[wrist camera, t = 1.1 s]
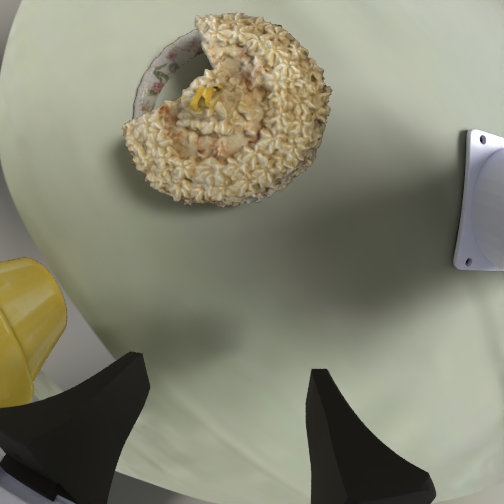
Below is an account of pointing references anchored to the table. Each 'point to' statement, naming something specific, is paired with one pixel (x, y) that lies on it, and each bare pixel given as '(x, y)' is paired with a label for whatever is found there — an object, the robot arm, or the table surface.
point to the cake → (230, 114)
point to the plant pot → (26, 326)
